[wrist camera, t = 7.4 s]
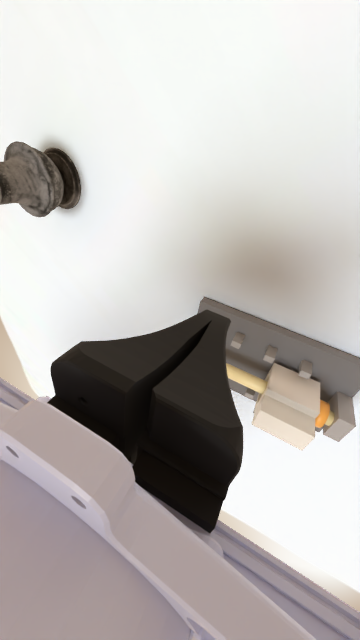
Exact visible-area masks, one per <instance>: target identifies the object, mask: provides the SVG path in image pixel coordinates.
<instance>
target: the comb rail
mask: <svg viewBox="0 0 360 640" xmlns="http://www.w3.org/2000/svg"><path fill="white" fill-rule="evenodd" d="M204 310H210V311H212V312H215V313H217V314H220V315H222V316H224V317H227V318H229V319H230V320H231V323H230V326H229V329H228V331H227V336H226V368H227V375H228V381H229V386H230V389H231V390H234V391H236V392H238V393H240V394H242V395H244V396H245V397H247V398H249V399H251V400H254V401H257V398H258V394H259V393H261V394H263V393H264V391H265V390H266V387H267V383H268V382H267V381H265V378H266V376H267V374H268V373H269V371H270V369H271V367H272V366H273V364H274V363H276V364H278V365H281V366H283V367H285V368H287V369H290V370H292V371H294V372H297V373H298V375H299V376H301V377H304V378H306V379H309V378H310V379H313V380H315V381H317V382H320V414H319V415H318V416H317V417H316V418H315V431H317V432H320V431H321V430H322V429H323V435H325V436H328V437H330V438H332V439H334V440H336V441H338V442H339V441H340V440H341V439H342V438H343V437H344V436H346V435H347V434H348V433H349V432H350V431H351V430H352V429H353V428H354V427H356V424H355V416H354V408H353V400H352V397H353V396H354V395H355V394H356V393H357V392H358V391H359V390H360V358H358V357H356V356H353V355H351V354H348V353H345V352H343V351H340V350H338V349H335V348H333V347H330V346H328V345H325V344H323V343H320V342H317V341H315V340H312V339H310V338H307V337H305V336H302V335H300V334H297V333H295V332H292V331H289V330H287V329H284V328H282V327H279V326H277V325H274V324H272V323H269V322H267V321H264V320H261V319H259V318H256V317H254V316H251V315H249V314H246V313H244V312H241V311H239V310H236V309H234V308H231V307H228V306H226V305H223V304H221V303H218V302H216V301H213V300H211V299H208V298H206V297H204V298H203V299H202V301H201V302H200V306H199V310H198V313H200V312H202V311H204Z"/></svg>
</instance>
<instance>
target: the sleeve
mask: <svg viewBox="0 0 360 640" xmlns="http://www.w3.org/2000/svg"><path fill="white" fill-rule="evenodd" d="M265 381H267V382H268V383H267V387H266V390H265V391H264V393H263V394H261V393H259V394H258V398H257V401H256V405H255V408H254V412H253V413H254V417H253V421H252V425H254V426H256V427H258V428H260V429H262V430H264V431H265V432H267V433H269V434H271V435H273V436H275V437H277V438H279V439H281V440H283V441H285V442H287V443H289V444H291V445H292V446H294V447H296V448H298V449H300V450H303V449H304V448H305V447H306V446H307V445H308V444H309V443H310V442H311V441H312V440H313V439H314V438H315V418H316V417H317V416H318V415H319V414H320V382H317V381H315V380H313V379H310V378H309V379H306V378H304V377H301V376H299V375H298V373H297V372H294V371H292V370H290V369H287V368H285V367H283V366H281V365H278V364H276V363H274V364H273V366H272V367H271V369H270V371H269V373H268V374H267V376H266V378H265Z"/></svg>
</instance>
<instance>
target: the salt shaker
mask: <svg viewBox="0 0 360 640" xmlns="http://www.w3.org/2000/svg"><path fill="white" fill-rule="evenodd" d="M80 193H81V185H80V179H79V175H78V172H77V170H76V168H75V166H74V164H73V162H72V161H71V159H70V158H69V157H68V156H67V155H66V154H65V153H64V152H63V151H61V150H59V149H56V148H50V149H47V150H46V151H45V152H44V153H42V152H40V151H38V150H37V149H35V148H32V147H31V146H29V145H27V144H25V143H23V142H14V143H11V144H10V145H9V146H8V147H7V149H6V152H5V155H4V162H0V204H9V203H19V204H20V205H21V207H22V208H24V209H25V210H26V211H27V212H28V213H30V214H31V215H33V216H36V217H44V216H46V215H48V214H49V213H50V212H51V211H52V210H54V209H55V208H56V207H57V206H60V207H61V208H65V209H69V208H73V207H74V206H76V204H77V203H78V201H79V198H80Z"/></svg>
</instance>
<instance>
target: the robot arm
mask: <svg viewBox="0 0 360 640" xmlns="http://www.w3.org/2000/svg"><path fill="white" fill-rule="evenodd" d="M230 323H231V320H230V319H229V318H227V317H224V316H222V315H220V314H217V313H215V312H212V311H210V310H204V311H202V312H200V313H198V314H197V315H195V316H193V317H191V318H189V319H187V320H185V321H182V322H180V323H178V324H176V325H173V326H171V327H168V328H166V329H163V330H160V331H157V332H154V333H150V334H146V335H142V336H137V337H132V338H126V339H119V340H109V341H85V342H80V343H78V344H77V345H75V346H74V347H73V348H71V349H70V350H69V351H67V352H66V353H64V354H63V355H62V356H60V357H59V358H58V359H56V360H55V361H54V362H53V363H52V365H51V377H52V381H53V385H54V390H55V394H56V395H55V396H54V397H53V398H52V399H51V398H50V397H48V396H46V397H39V398H37V399H36V400H34V399H32V398H31V397H30V396H28V395H26V394H25V393H23V392H22V391H20V390H19V389H17V388H16V387H14V386H13V385H11V384H10V383H8V382H7V381H5V380H4V379H2V378H0V640H360V612H358V611H357V610H355V609H354V608H352V607H351V606H349V605H348V604H346V603H345V602H343V601H342V600H340V599H339V598H337V597H336V596H334V595H332V594H331V593H329V592H328V591H326V590H325V589H323V588H322V587H320V586H319V585H317V584H315V583H314V582H313V581H311V580H309V579H308V578H306V577H305V576H303V575H302V574H300V573H299V572H297V571H296V570H294V569H293V568H291V567H290V566H288V565H287V564H285V563H283V562H282V561H280V560H279V559H277V558H276V557H274V556H273V555H271V554H270V553H268V552H267V551H265V550H264V549H262V548H261V547H259V546H257V545H256V544H254V543H253V542H251V541H250V540H248V539H247V538H245V537H244V536H242V535H241V534H239V533H237V532H236V531H234V530H233V529H231V528H230V527H228V526H227V525H225V524H224V523H222V522H221V521H219V520H218V516H219V513H220V510H221V506H222V503H223V500H224V499H225V497H226V494H227V491H228V487H229V485H230V483H231V482H232V481H233V479H234V478H235V476H236V475H237V474H238V472H239V470H240V467H241V463H242V455H243V427H242V424H241V422H240V419H239V416H238V414H237V411H236V408H235V405H234V401H233V398H232V394H231V390H230V386H229V381H228V375H227V368H226V336H227V331H228V329H229V326H230Z"/></svg>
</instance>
